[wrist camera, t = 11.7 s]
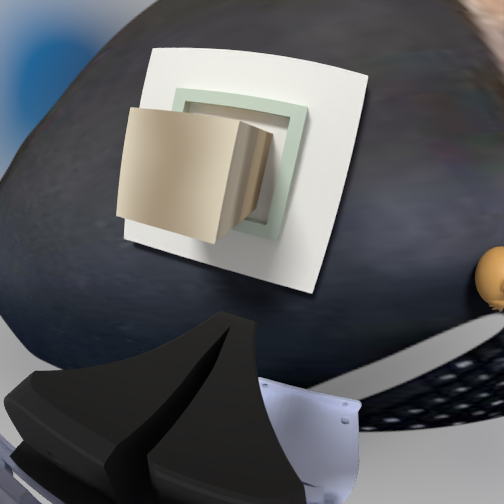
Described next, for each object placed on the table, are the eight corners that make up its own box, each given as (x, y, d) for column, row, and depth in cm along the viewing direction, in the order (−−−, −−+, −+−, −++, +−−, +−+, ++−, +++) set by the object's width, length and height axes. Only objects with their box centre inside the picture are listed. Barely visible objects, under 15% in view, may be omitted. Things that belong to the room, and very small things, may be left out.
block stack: (273, 133, 17) (239, 120, 10) (256, 208, 18) (214, 244, 11) (200, 120, 17) (130, 107, 10) (187, 191, 19) (116, 215, 12)
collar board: (365, 79, 15) (370, 72, 13) (312, 287, 20) (311, 299, 18) (159, 51, 17) (146, 45, 15) (131, 234, 22) (117, 241, 20)
